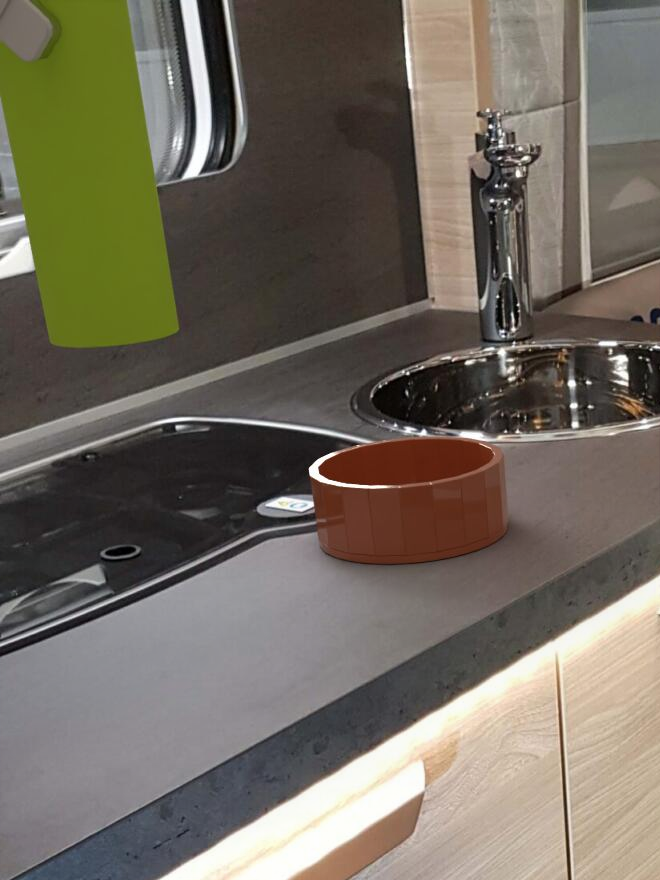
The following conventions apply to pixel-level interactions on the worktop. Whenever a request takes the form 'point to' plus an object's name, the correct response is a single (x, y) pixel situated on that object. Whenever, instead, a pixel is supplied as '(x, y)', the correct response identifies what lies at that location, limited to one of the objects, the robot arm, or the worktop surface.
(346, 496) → the bowl
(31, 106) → the soap dispenser
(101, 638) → the worktop surface
